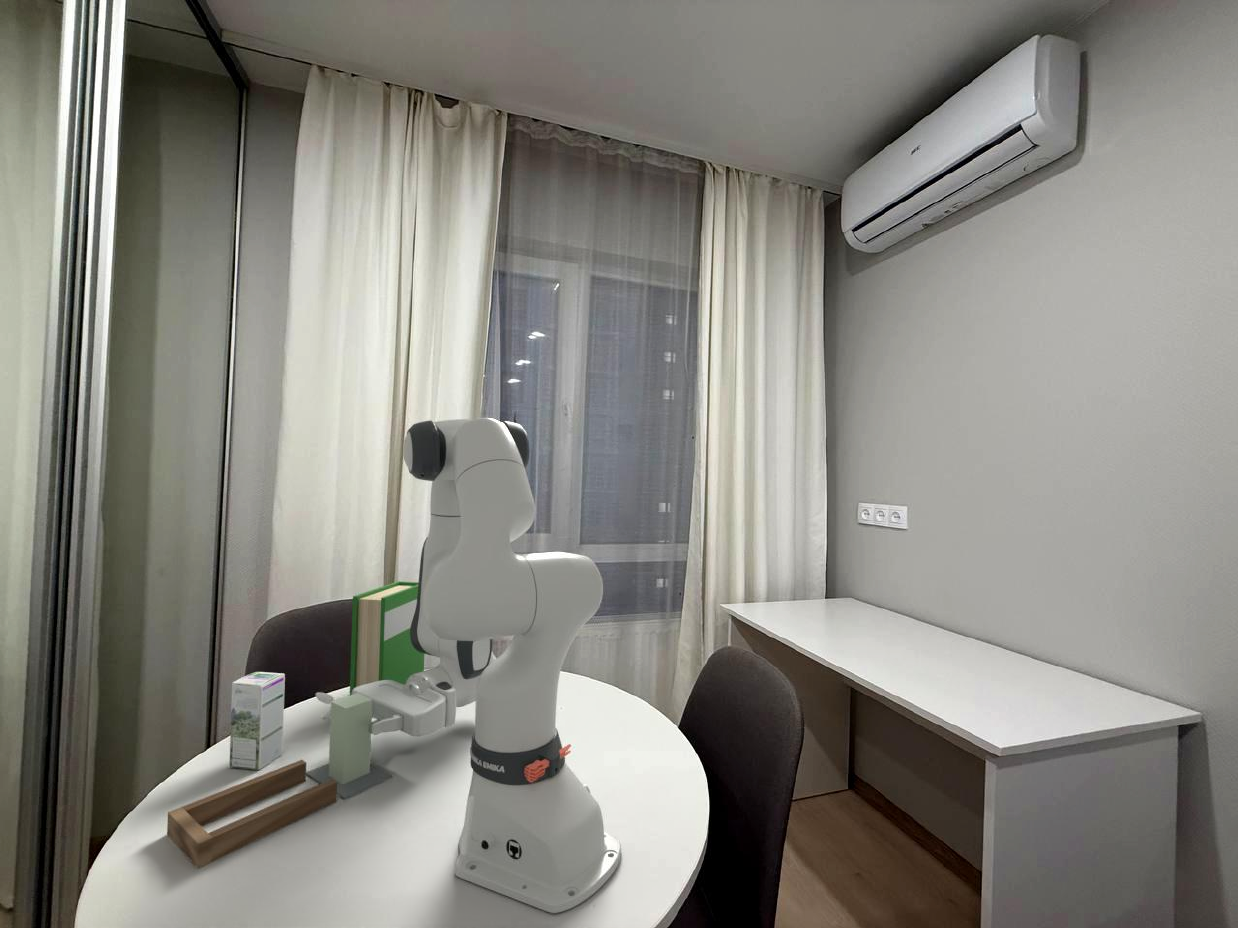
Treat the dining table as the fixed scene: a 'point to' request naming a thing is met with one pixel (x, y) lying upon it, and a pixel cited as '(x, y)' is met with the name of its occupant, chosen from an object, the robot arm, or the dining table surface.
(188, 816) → the frame
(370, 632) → the hardback book
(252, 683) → the syrup box
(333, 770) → the sage block
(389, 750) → the dining table surface
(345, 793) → the mat
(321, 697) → the rabbit figurine
